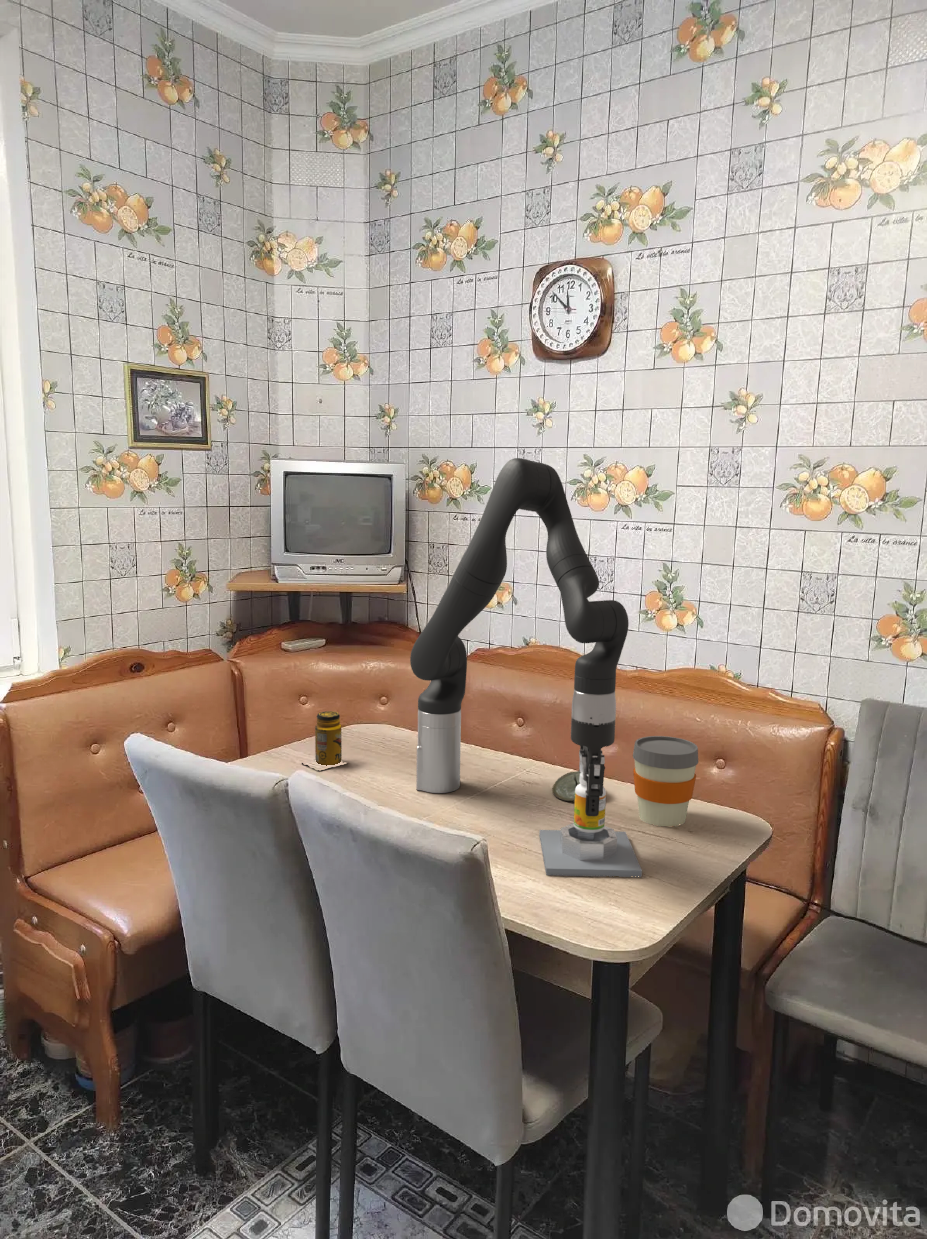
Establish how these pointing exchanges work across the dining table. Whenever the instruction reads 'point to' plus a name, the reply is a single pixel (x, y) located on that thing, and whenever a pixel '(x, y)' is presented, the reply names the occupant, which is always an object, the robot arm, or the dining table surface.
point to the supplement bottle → (580, 817)
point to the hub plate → (569, 866)
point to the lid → (566, 786)
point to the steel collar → (588, 843)
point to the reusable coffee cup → (664, 778)
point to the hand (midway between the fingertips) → (589, 808)
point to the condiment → (328, 738)
